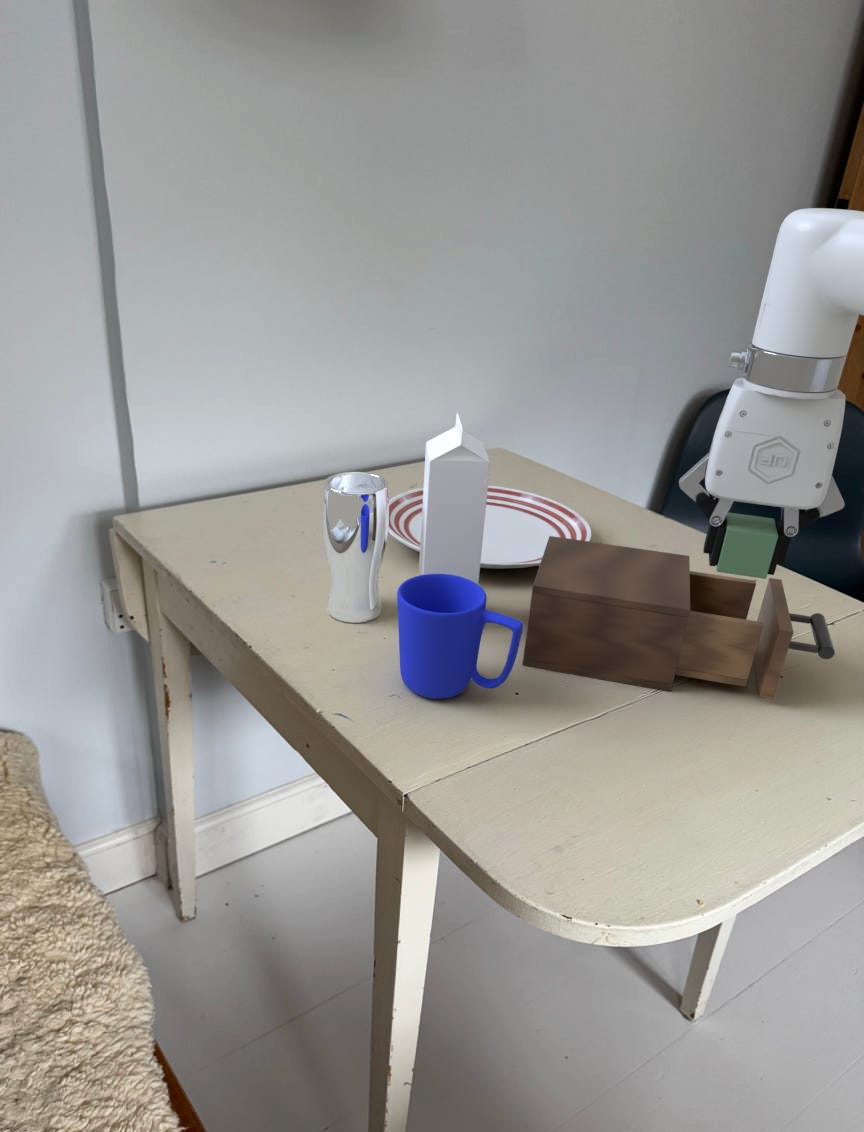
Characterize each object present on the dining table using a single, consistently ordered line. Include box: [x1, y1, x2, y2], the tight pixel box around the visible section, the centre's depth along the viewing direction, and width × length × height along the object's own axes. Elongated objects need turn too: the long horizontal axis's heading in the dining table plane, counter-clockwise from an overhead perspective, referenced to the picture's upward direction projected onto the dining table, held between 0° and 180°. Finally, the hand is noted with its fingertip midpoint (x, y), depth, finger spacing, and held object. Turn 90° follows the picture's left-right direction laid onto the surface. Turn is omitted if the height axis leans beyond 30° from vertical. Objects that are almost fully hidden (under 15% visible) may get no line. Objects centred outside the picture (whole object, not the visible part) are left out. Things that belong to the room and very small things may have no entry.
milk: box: [417, 412, 491, 585], centre depth 91 cm, size 6×6×22 cm
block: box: [716, 512, 778, 580], centre depth 82 cm, size 4×4×4 cm
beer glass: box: [322, 471, 390, 624], centre depth 93 cm, size 7×7×15 cm
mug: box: [396, 574, 524, 700], centre depth 81 cm, size 8×12×10 cm
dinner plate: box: [388, 484, 593, 570], centre depth 114 cm, size 27×27×3 cm
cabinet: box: [522, 536, 691, 692], centre depth 89 cm, size 15×13×9 cm
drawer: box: [675, 570, 836, 699], centre depth 87 cm, size 18×11×7 cm, turn 73°
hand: (740, 562), depth 83 cm, fingers closed on block, 4 cm apart
